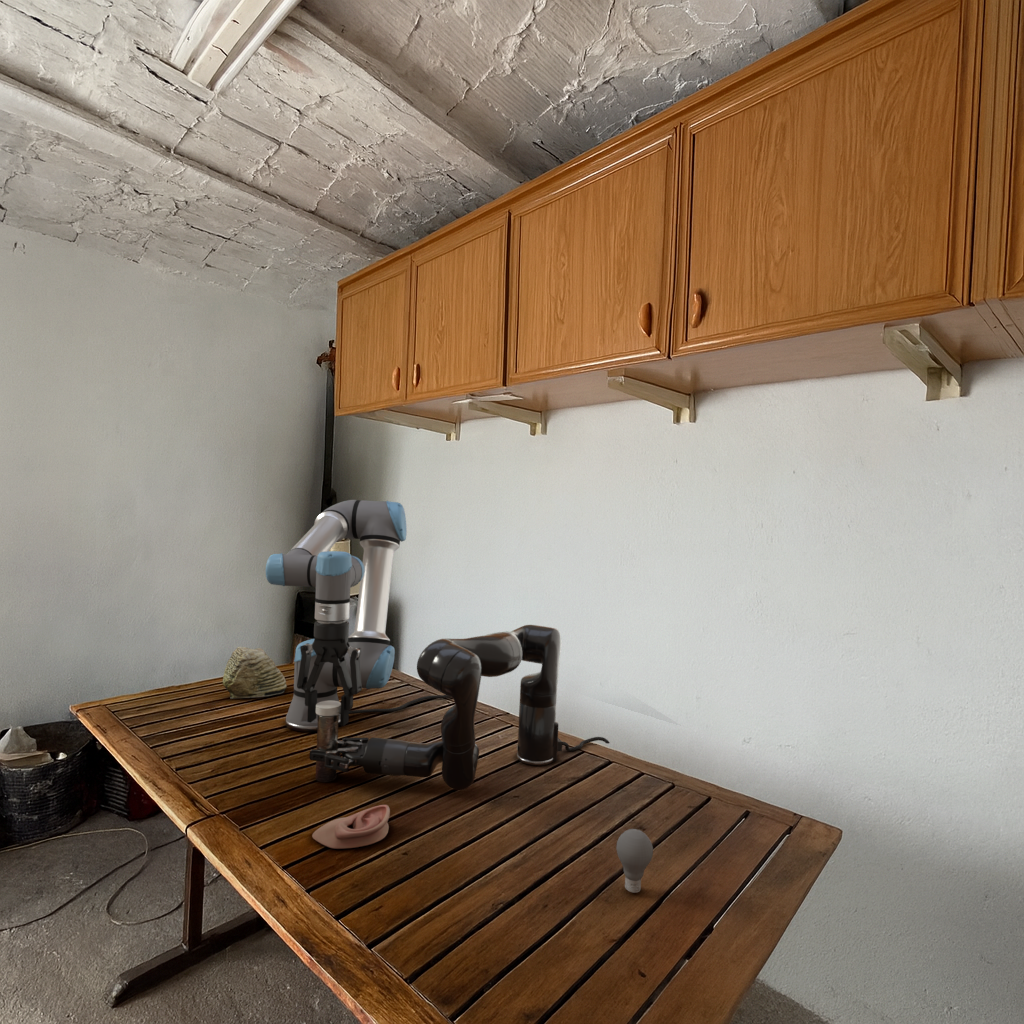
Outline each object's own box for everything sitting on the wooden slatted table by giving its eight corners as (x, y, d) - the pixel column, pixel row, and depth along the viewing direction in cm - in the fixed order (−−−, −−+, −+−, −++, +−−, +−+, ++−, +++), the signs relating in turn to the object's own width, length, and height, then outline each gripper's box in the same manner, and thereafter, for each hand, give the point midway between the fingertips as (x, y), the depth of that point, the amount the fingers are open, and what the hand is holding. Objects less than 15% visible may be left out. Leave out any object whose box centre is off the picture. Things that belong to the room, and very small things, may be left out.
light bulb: (610, 879, 108) (613, 822, 108) (644, 879, 109) (647, 822, 109) (619, 902, 102) (622, 840, 102) (655, 901, 103) (658, 840, 103)
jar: (311, 778, 142) (314, 707, 142) (328, 771, 146) (331, 702, 146) (323, 784, 140) (325, 712, 139) (340, 778, 143) (343, 707, 143)
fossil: (218, 695, 195) (220, 647, 195) (278, 685, 208) (279, 640, 207) (228, 703, 189) (230, 653, 188) (289, 692, 201) (290, 645, 201)
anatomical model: (304, 822, 115) (334, 794, 126) (303, 844, 115) (333, 813, 126) (372, 833, 112) (397, 803, 124) (371, 855, 113) (396, 823, 124)
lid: (346, 711, 143) (346, 704, 143) (326, 717, 139) (326, 710, 139) (330, 706, 146) (330, 698, 146) (310, 712, 142) (310, 704, 142)
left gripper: (281, 620, 140) (278, 723, 140) (367, 627, 137) (363, 732, 137) (299, 614, 147) (295, 712, 148) (380, 621, 144) (376, 721, 144)
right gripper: (398, 728, 148) (328, 722, 150) (378, 752, 134) (301, 745, 136) (397, 760, 148) (327, 754, 150) (377, 787, 134) (300, 780, 136)
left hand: (328, 721), depth 142 cm, fingers open, 7 cm apart
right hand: (315, 750), depth 143 cm, fingers closed on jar, 4 cm apart
